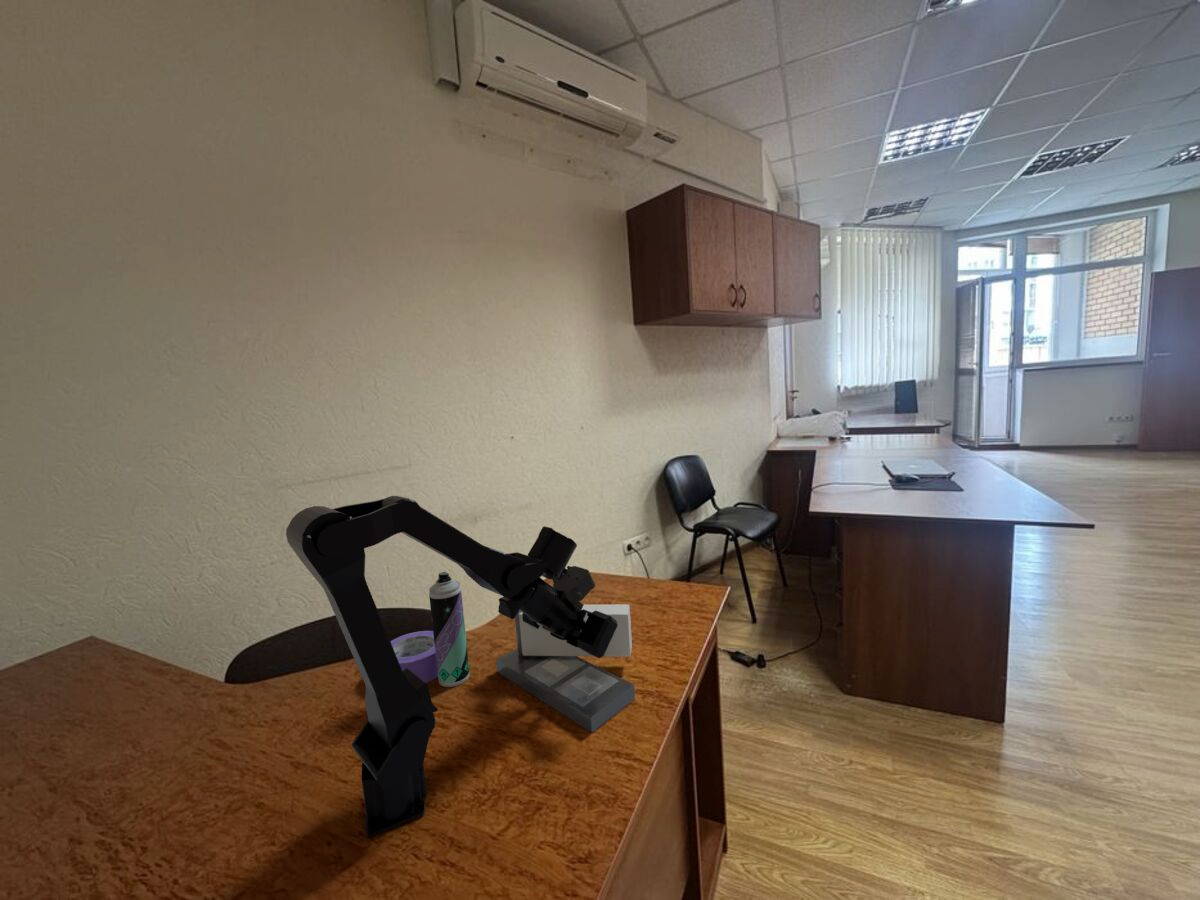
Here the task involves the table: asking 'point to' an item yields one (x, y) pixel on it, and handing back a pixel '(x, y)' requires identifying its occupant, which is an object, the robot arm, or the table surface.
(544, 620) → the robot arm
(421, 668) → the tape roll
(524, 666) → the server tray
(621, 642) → the upright grey slab
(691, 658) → the table surface
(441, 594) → the spray can
